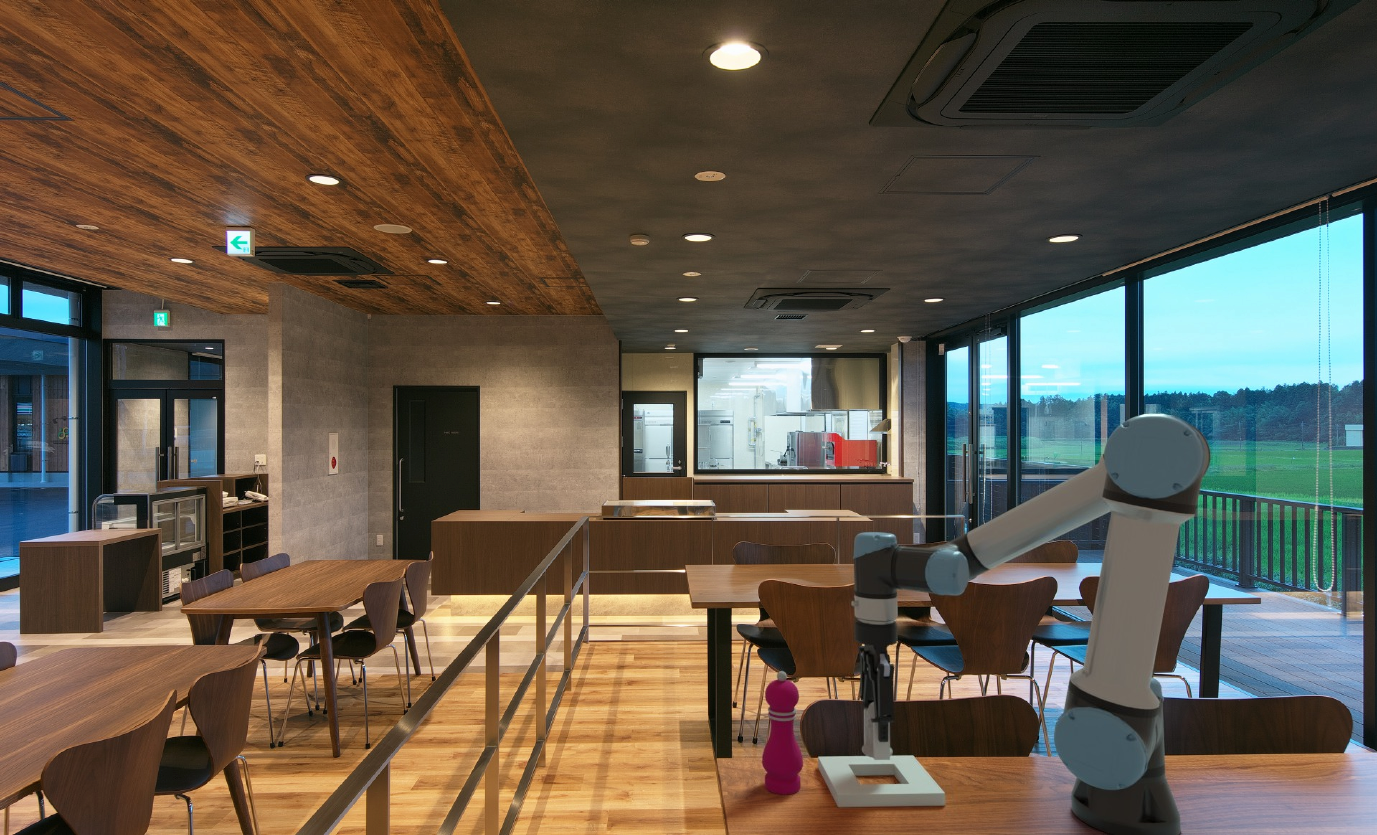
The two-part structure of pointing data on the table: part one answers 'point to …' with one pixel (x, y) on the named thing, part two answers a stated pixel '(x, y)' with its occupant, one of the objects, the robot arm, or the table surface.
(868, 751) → the chess piece
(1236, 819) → the table surface
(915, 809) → the table surface
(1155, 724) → the robot arm
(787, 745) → the pepper mill
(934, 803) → the socket board
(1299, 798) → the table surface
